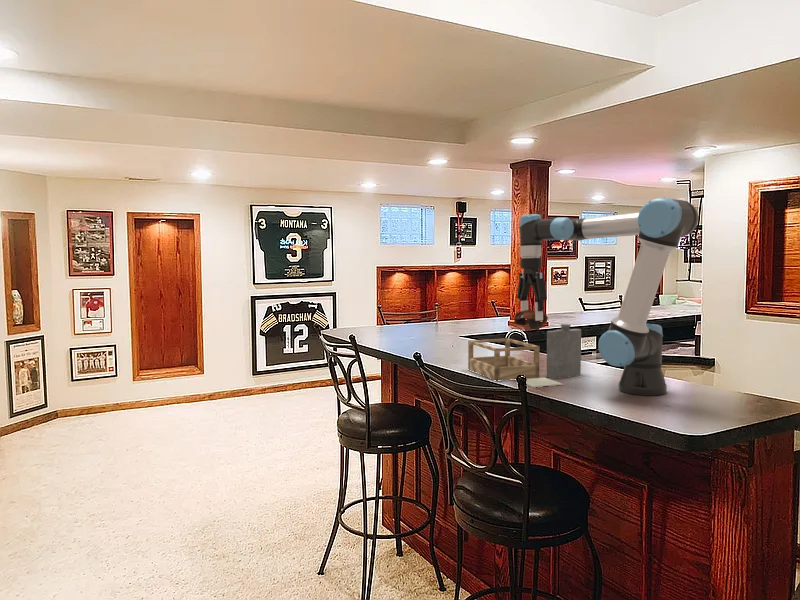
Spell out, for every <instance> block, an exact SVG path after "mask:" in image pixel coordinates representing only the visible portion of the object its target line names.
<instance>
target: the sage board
mask: <svg viewBox="0 0 800 600" xmlns="http://www.w3.org/2000/svg"><path fill="white" fill-rule="evenodd" d="M556 385H561V386H563V385H564V384H563V383H562V382H559V381H556V380H553V379H550V378H547V377H545V376H544V377H539V378H531V379H527V385H526V386H527V387H529V388H533V389H536V387H537V388H544V387H543V386H549V387H557V386H556Z"/></svg>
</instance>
